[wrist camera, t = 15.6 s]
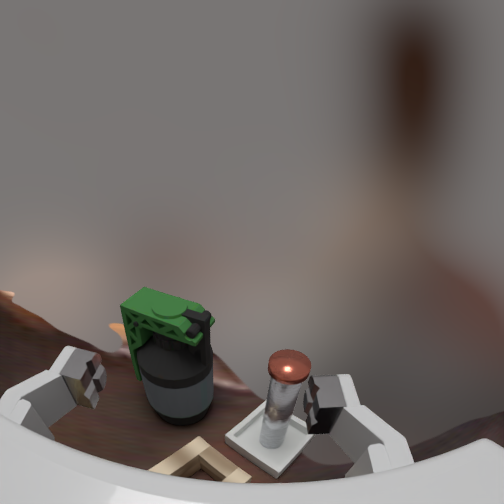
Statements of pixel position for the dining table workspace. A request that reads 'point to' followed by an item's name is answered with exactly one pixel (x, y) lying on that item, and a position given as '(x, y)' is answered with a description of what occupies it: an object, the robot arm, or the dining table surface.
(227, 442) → the tray
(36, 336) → the dining table surface
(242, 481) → the block
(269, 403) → the pin
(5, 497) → the robot arm
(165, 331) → the grenade
